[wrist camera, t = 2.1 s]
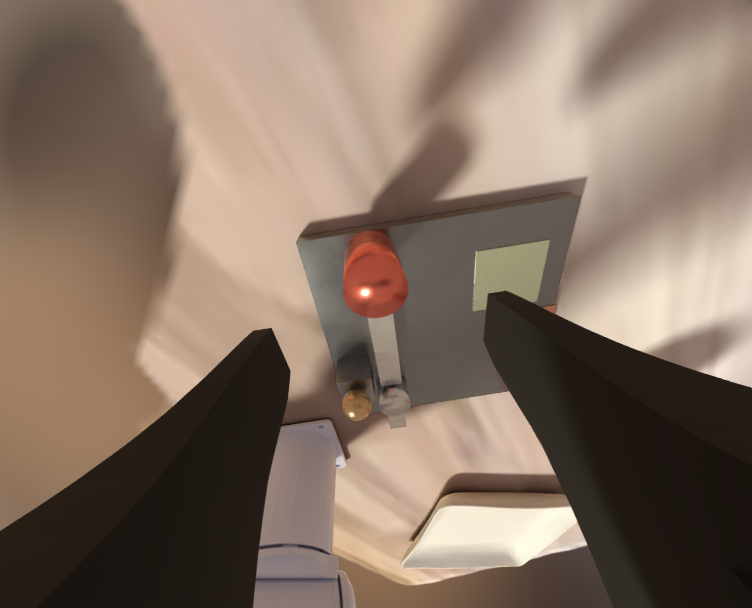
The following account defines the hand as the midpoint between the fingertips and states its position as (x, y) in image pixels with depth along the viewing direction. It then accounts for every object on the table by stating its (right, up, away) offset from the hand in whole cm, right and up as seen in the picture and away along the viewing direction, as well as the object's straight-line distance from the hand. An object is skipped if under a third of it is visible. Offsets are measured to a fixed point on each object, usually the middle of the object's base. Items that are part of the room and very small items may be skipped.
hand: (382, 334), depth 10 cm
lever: (0, -2, +11) cm, 11 cm away
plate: (+4, 0, +11) cm, 12 cm away
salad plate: (+15, -30, +33) cm, 47 cm away
